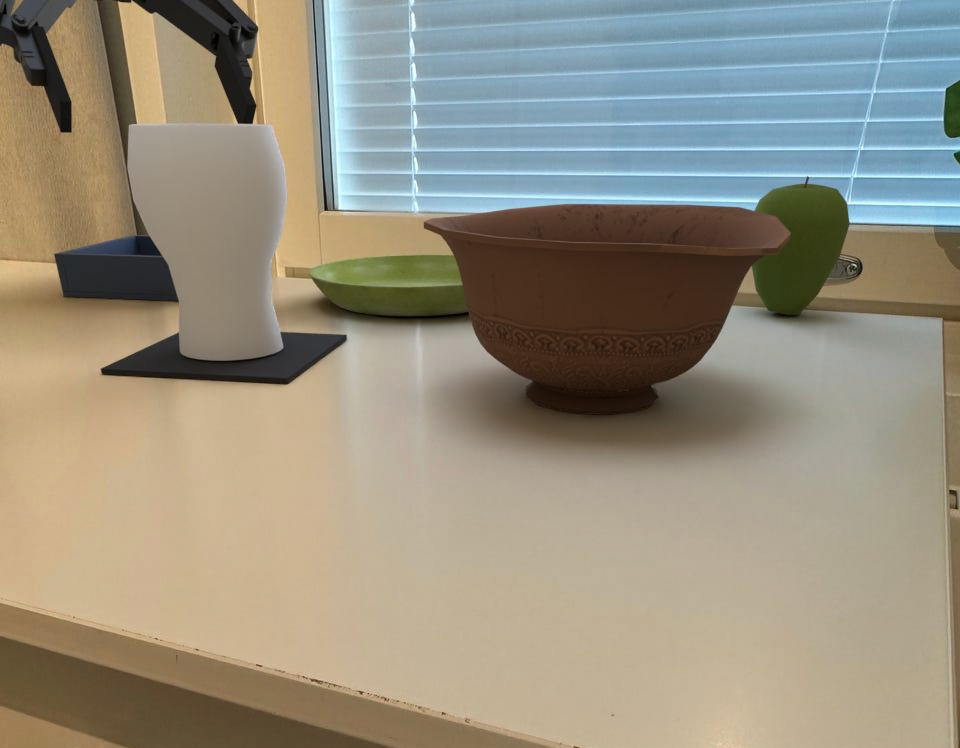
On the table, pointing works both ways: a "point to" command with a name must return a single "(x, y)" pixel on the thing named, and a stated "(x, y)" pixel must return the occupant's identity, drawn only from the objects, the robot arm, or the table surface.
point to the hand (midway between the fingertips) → (162, 119)
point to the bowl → (604, 292)
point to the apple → (801, 245)
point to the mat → (229, 361)
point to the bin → (116, 270)
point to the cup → (214, 229)
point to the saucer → (394, 285)
